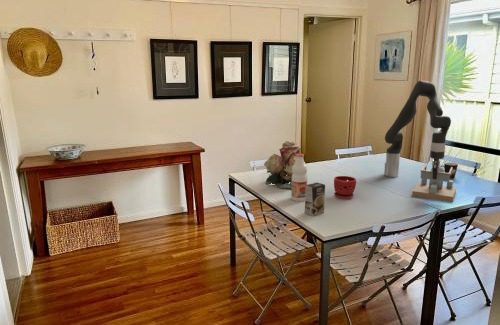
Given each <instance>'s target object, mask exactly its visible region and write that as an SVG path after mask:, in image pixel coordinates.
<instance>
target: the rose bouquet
mask: <svg viewBox="0 0 500 325" xmlns="http://www.w3.org/2000/svg"><path fill="white" fill-rule="evenodd" d="M278 150H279V153H280V155H278V154H276V153H274V154H272V155H270V157H269V158H268V159H267V160H266V161H265V162H264V164H263V165H264V167H265V168H266V173H267V174H268V177H267V178H266V180H265V185H267V184H271V183H272V184H275V185H272V186H273V187H276V188H277V189H291V186H292V174H293V172H292V166H293V165H294V163H295V161H296V154H299V153H300V154H301V150H302V148H301V147H299V146H298V143H297V142H295V141H291V142H290V141H285V142H283V143H282V146H281V148H279V149H278ZM304 163H305V160H304ZM289 182H291V183H290V184H288V183H289ZM280 183H281V184H280ZM285 183H286V184H285ZM277 184H280V185H277Z"/></svg>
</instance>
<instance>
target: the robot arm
mask: <svg viewBox="0 0 500 325" xmlns="http://www.w3.org/2000/svg"><path fill="white" fill-rule="evenodd" d="M419 97H425V98H426V97H427V98H428V102H427V104H426V110H427V112H428V114H429V119H430V120H429V122H430V123H429V124H430V127H432V129H433V128H434V129H440V130H439V131H435V132H433V133H432V136H431V145H430V149H429V150H430V152H429V158H431V159H433V160H432V163H431V164H432V165H431V169H432V172H433V179H437V173H438V170H439V166H441V160H443V159H445V152H446V140H447V139H446V137H447V135H448V131H449V129H450V127H451V123H452V119H451V117H450V116H448V115H444V111H443V109H442V107H441V104H440V102H439V99H438V94H437V90H436V85H435V84H434V83H433V82H431V81H426V80H418V81H417V82H416V83H415V84H414V86H413V88H412V90H411V93H410V94H409V97H408V99H407V101H406V102H405V104H404V106H403V107H402V108H401V110H400V112H399V114H398V115H397V117H396V119H395V120H394V121H393V124H391V126H390V127H389V128H388V130H387V132H386V133H385V135H384V140H385V143H386V144H389V145H390V146H389V147H387V149H386V154H385V155H386V158H385V163H384V173H383V175H384V176H386V177H390V178H396V177H397V178H398V177H399V174H400V172H399V171H400V170H399V169H400V160H401V150H402V148H403V139H404V135H403V132H402V131H401V130H403V129H404V128H405V127H406V126H408V125H409V124H410V123H411V122H412V121H413V120H414V118H415V116H416V114H417V105H416V103H417V102H416V101H417V100H418V98H419Z"/></svg>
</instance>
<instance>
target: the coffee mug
mask: <svg viewBox="0 0 500 325" xmlns="http://www.w3.org/2000/svg"><path fill="white" fill-rule="evenodd" d="M443 163H444V165H440V167H442V168H443V170H444V172H445V173H449V171H450V169H451V167H453V169H452V175H450V180H451V179H455V177H456V174H457V170H458V166H459V163H456V162H450V161H449V162H448V161H447V162H443Z"/></svg>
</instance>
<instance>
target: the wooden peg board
mask: <svg viewBox="0 0 500 325" xmlns="http://www.w3.org/2000/svg"><path fill="white" fill-rule="evenodd" d="M440 166H441V165H440ZM440 166H439V170H438V172H444V167H443V166H442V167H440ZM430 171H432V168H431V169H430ZM453 184H454V180H451V179H450V180H449V182H447V181H446V185H444V181H439V180H431V179H429V181H428V179H422V178H421V181H420V182H417V184H416V185H415V187H414V188H413V189H412V192H411V193H412V196H413V197H418V198H419V197H420V198H424V199H425V198H426V199H432V200H438V201H444V202H453V201H454V198H455V195H456V192H457V187H455V186H453Z"/></svg>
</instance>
